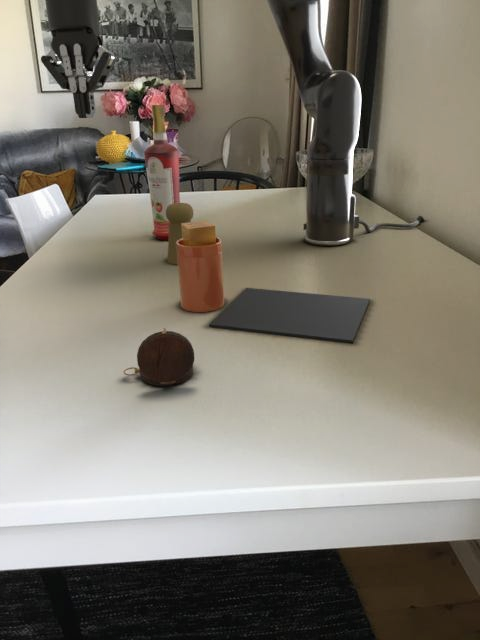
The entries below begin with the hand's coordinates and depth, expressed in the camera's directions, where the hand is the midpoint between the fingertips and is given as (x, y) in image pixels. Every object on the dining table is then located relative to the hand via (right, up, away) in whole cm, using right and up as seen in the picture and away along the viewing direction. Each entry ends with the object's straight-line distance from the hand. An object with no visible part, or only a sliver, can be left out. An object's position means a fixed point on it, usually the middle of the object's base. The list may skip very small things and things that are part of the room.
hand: (86, 117), depth 91 cm
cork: (+14, -21, +19) cm, 32 cm away
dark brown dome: (+16, -40, -26) cm, 50 cm away
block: (+19, -22, -7) cm, 30 cm away
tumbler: (+19, -30, -4) cm, 36 cm away
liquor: (+9, -14, +36) cm, 40 cm away
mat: (+33, -32, -9) cm, 46 cm away
